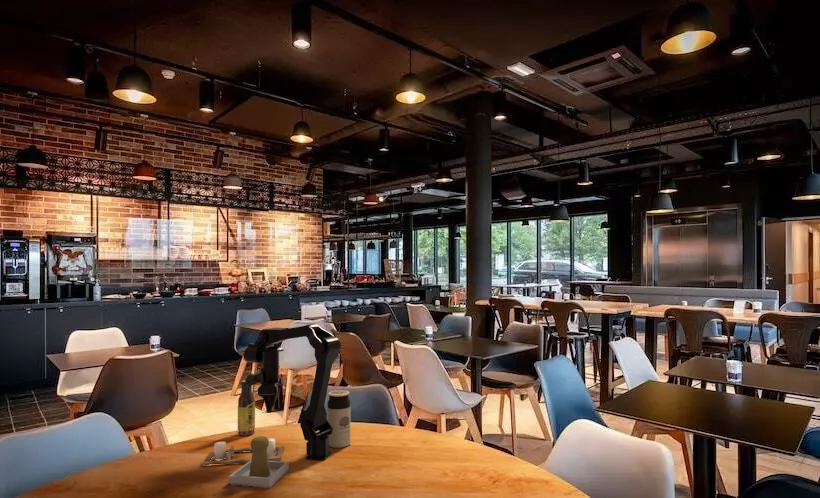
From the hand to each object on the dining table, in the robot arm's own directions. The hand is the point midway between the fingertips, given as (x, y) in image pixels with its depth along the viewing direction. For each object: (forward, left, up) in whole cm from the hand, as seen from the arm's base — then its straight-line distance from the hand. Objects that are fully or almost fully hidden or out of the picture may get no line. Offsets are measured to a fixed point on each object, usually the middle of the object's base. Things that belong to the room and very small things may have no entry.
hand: (270, 409), depth 171 cm
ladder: (+4, +10, -13) cm, 17 cm away
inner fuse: (-3, +7, -13) cm, 15 cm away
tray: (-9, +24, -13) cm, 29 cm away
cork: (-9, +24, -13) cm, 29 cm away
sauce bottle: (+16, -12, -13) cm, 24 cm away
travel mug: (-23, -6, -13) cm, 27 cm away
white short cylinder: (+11, +13, -13) cm, 21 cm away
